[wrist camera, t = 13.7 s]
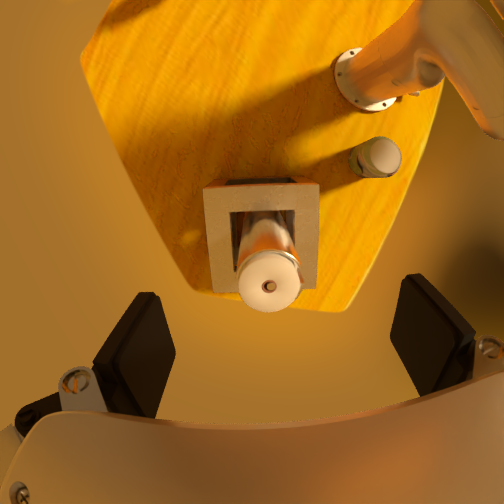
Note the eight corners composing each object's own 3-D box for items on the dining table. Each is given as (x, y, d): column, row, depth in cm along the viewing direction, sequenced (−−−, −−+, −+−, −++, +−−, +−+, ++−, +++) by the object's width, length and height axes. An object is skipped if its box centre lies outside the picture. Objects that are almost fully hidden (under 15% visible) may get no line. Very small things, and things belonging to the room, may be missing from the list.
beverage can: (362, 183, 45) (393, 195, 34) (334, 155, 43) (360, 158, 32) (383, 159, 43) (418, 165, 32) (356, 131, 42) (386, 127, 30)
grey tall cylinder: (273, 240, 49) (290, 323, 26) (239, 228, 48) (225, 305, 25) (286, 206, 47) (318, 266, 24) (251, 194, 46) (248, 243, 23)
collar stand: (303, 175, 45) (319, 184, 34) (302, 257, 50) (315, 288, 39) (215, 179, 45) (202, 189, 34) (221, 260, 51) (213, 292, 39)
